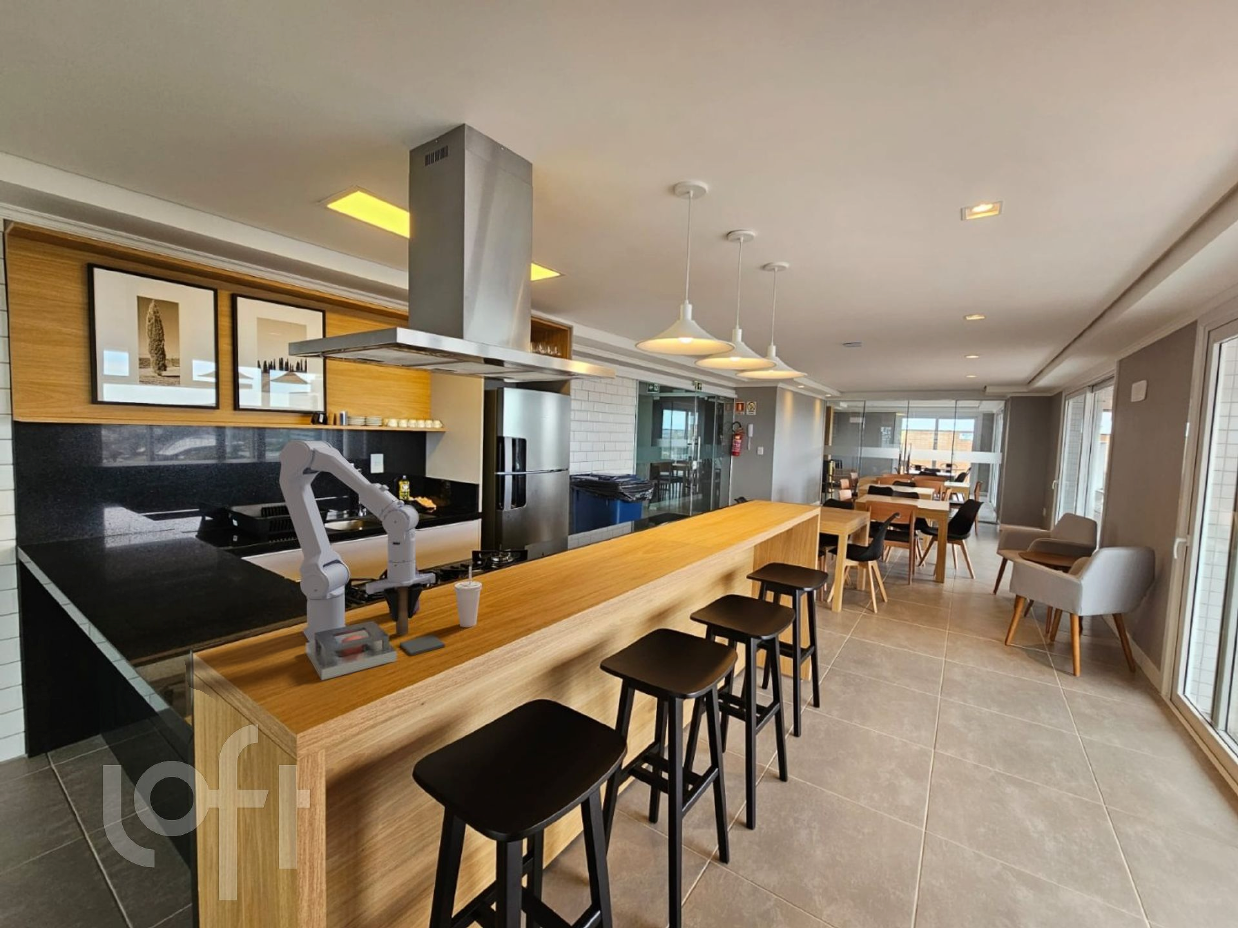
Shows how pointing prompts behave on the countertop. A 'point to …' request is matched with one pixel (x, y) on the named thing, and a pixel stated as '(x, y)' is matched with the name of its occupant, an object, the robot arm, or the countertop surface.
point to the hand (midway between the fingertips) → (402, 618)
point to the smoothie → (468, 601)
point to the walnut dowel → (402, 611)
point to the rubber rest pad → (422, 644)
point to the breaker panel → (349, 660)
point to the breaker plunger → (352, 649)
